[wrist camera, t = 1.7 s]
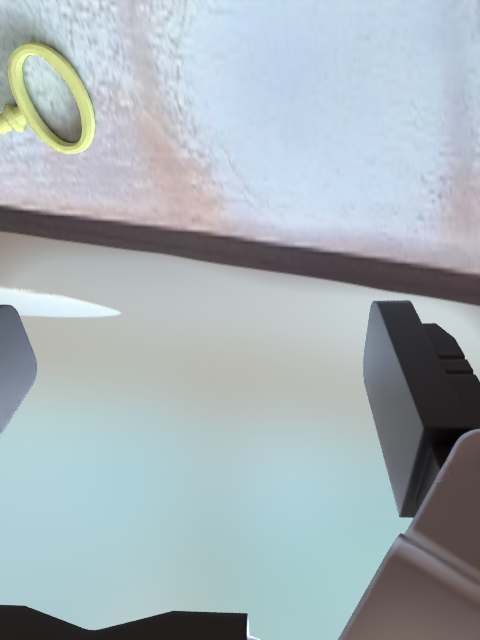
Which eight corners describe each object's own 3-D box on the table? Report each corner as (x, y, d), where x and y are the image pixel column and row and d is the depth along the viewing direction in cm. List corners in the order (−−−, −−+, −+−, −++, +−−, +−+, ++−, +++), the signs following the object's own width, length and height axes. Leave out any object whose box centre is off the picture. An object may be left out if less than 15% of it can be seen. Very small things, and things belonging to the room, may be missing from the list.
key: (-57, 142, 34) (-75, 150, 33) (39, 25, 30) (25, 26, 28) (19, 213, 38) (7, 224, 36) (118, 118, 33) (110, 124, 31)
